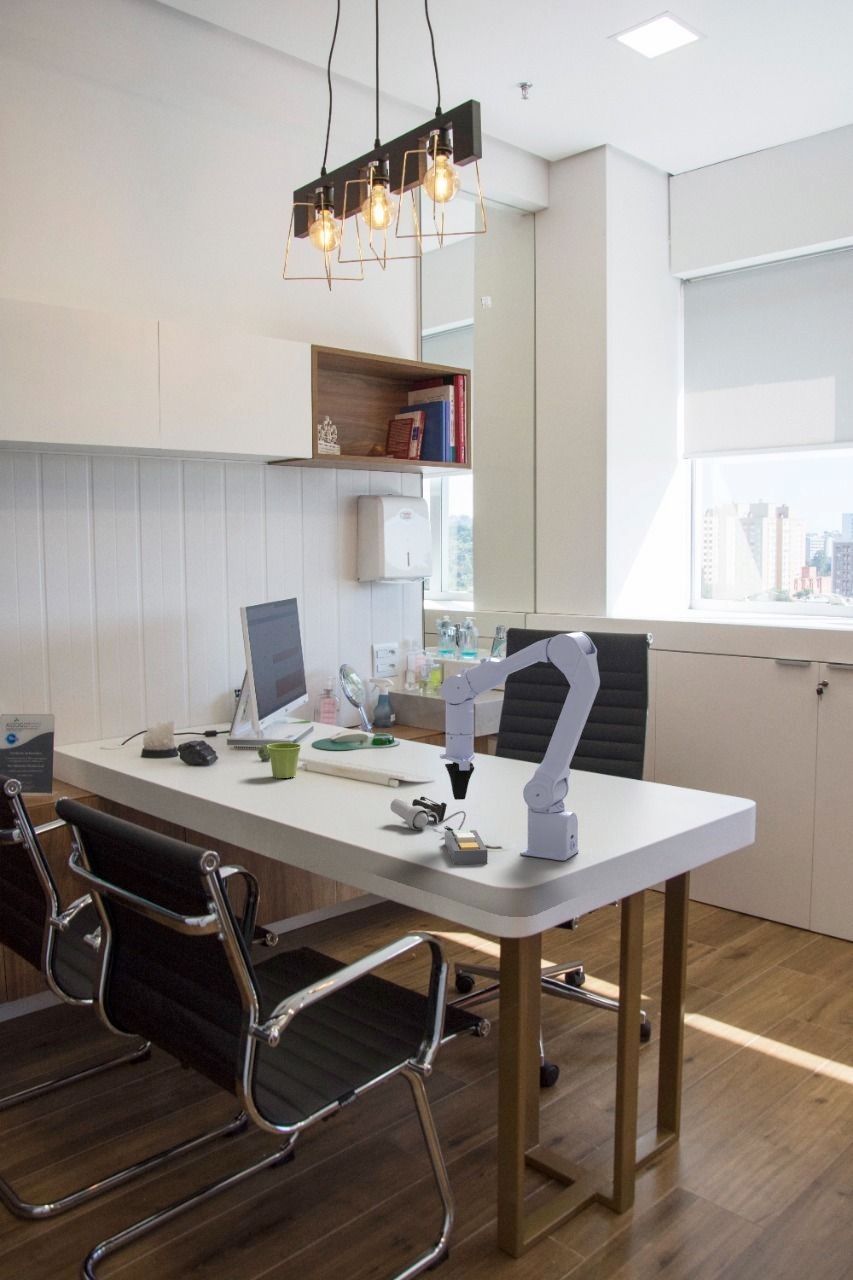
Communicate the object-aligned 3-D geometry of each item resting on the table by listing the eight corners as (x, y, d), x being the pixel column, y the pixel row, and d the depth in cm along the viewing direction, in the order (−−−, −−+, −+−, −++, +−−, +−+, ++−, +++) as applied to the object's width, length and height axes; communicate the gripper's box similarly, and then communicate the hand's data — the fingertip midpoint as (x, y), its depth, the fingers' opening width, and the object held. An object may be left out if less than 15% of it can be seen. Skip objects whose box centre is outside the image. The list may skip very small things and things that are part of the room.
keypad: (444, 843, 215) (444, 831, 215) (475, 842, 216) (475, 830, 216) (454, 864, 200) (454, 850, 200) (487, 863, 201) (487, 849, 201)
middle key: (455, 842, 209) (455, 833, 209) (472, 841, 210) (472, 832, 210) (458, 846, 206) (457, 837, 206) (475, 846, 206) (475, 837, 206)
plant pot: (306, 774, 289) (305, 743, 288) (296, 781, 280) (295, 748, 279) (273, 773, 290) (273, 742, 290) (262, 780, 281) (261, 747, 281)
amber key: (459, 851, 205) (459, 842, 204) (476, 851, 205) (476, 842, 205) (461, 856, 201) (461, 847, 201) (478, 856, 201) (478, 846, 201)
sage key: (452, 838, 214) (452, 830, 214) (469, 838, 215) (469, 829, 215) (454, 843, 211) (454, 834, 211) (471, 842, 211) (471, 833, 211)
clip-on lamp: (474, 843, 227) (421, 811, 240) (481, 816, 226) (427, 785, 239) (434, 848, 219) (381, 814, 232) (440, 819, 218) (387, 787, 231)
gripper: (435, 728, 221) (435, 791, 222) (444, 739, 207) (444, 807, 208) (469, 727, 222) (468, 791, 223) (480, 738, 208) (479, 806, 209)
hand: (459, 798), depth 216 cm, fingers closed
